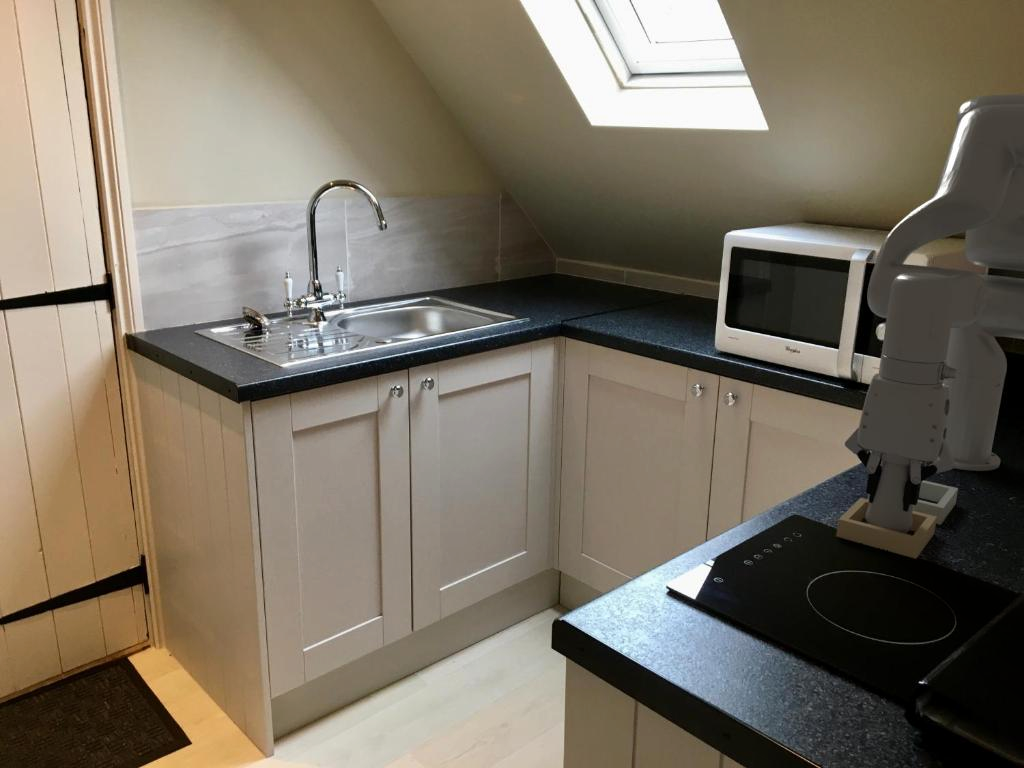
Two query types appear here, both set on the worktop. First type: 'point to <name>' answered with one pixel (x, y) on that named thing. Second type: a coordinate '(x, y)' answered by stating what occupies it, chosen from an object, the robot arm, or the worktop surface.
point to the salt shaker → (891, 496)
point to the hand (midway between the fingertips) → (890, 502)
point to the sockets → (898, 542)
